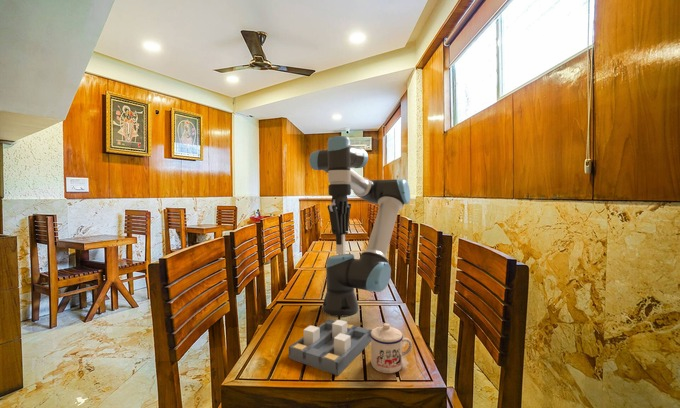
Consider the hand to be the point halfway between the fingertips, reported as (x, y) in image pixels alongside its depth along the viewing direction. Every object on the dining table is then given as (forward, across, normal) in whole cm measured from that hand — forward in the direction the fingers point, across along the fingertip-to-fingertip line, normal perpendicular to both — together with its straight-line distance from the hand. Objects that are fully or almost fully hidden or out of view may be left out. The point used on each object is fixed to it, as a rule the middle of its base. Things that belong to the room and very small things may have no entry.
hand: (340, 253), depth 98 cm
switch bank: (+28, +9, +1) cm, 30 cm away
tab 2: (+27, +4, +1) cm, 27 cm away
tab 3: (+27, +12, +6) cm, 30 cm away
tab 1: (+27, +12, -4) cm, 30 cm away
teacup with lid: (+29, +8, +20) cm, 36 cm away
